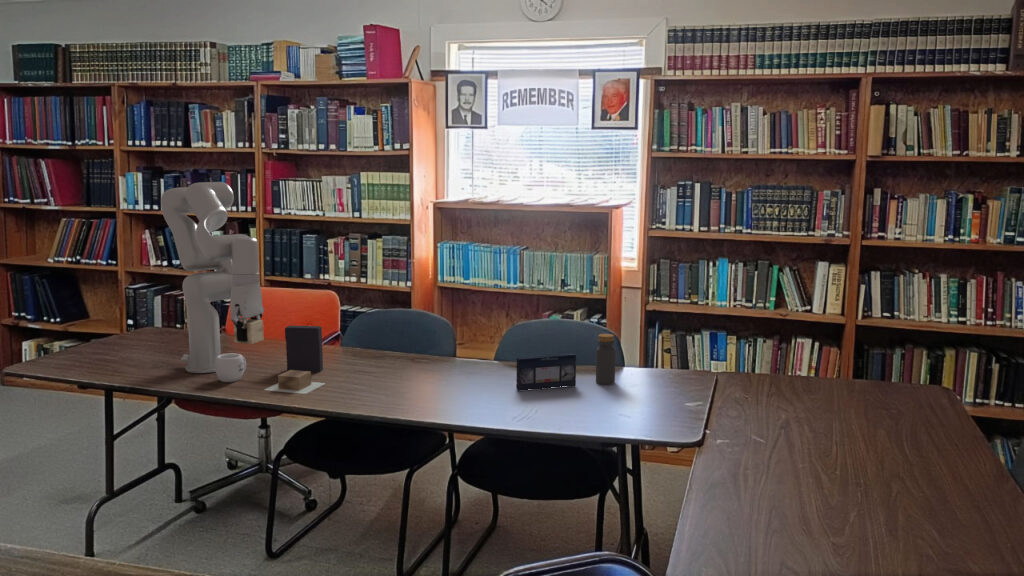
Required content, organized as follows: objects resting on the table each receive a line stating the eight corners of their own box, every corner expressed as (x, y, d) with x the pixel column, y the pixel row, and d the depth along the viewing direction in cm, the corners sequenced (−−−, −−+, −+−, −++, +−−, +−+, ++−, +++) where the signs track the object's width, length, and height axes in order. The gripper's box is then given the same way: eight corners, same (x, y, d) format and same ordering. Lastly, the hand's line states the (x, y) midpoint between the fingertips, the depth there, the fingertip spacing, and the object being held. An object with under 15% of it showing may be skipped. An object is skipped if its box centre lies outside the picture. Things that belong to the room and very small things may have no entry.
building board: (263, 391, 254) (263, 389, 254) (285, 381, 265) (285, 379, 265) (305, 395, 250) (305, 393, 250) (325, 385, 261) (325, 383, 261)
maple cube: (234, 342, 253) (233, 322, 252) (246, 338, 259) (245, 318, 258) (252, 344, 251) (251, 324, 250) (263, 339, 257) (262, 320, 256)
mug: (232, 385, 261) (231, 360, 260) (210, 382, 264) (208, 357, 263) (257, 375, 272) (256, 351, 271) (235, 373, 275) (234, 349, 274)
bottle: (592, 383, 264) (593, 335, 261) (600, 379, 269) (600, 332, 266) (610, 386, 261) (611, 337, 258) (617, 381, 266) (618, 334, 264)
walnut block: (278, 388, 255) (277, 375, 254) (291, 382, 262) (290, 369, 261) (299, 390, 253) (298, 377, 252) (311, 384, 260) (310, 371, 259)
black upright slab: (323, 370, 278) (322, 325, 276) (319, 374, 274) (318, 328, 271) (291, 369, 279) (289, 324, 277) (286, 373, 275) (284, 327, 273)
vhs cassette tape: (518, 391, 255) (518, 359, 253) (515, 389, 258) (515, 356, 256) (576, 387, 260) (576, 355, 258) (573, 384, 263) (573, 353, 261)
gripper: (252, 274, 261) (254, 332, 264) (217, 282, 245) (220, 344, 248) (273, 275, 259) (276, 333, 262) (239, 284, 243) (242, 346, 246)
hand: (249, 338), depth 255 cm, fingers closed on maple cube, 6 cm apart
